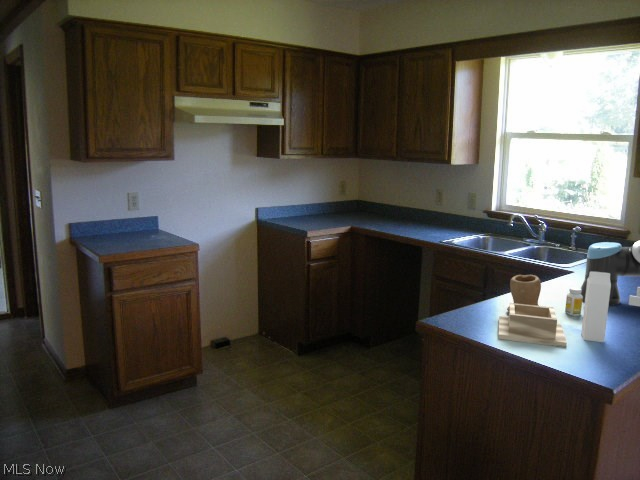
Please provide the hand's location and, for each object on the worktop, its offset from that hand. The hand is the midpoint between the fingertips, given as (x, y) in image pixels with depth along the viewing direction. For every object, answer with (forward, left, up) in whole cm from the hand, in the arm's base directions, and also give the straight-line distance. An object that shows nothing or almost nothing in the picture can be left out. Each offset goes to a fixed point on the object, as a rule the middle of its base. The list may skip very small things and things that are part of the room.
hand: (633, 295), depth 167 cm
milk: (-4, -9, -17) cm, 19 cm away
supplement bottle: (-30, -12, -17) cm, 36 cm away
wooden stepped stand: (-2, -28, -16) cm, 33 cm away
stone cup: (-21, -28, -17) cm, 39 cm away
